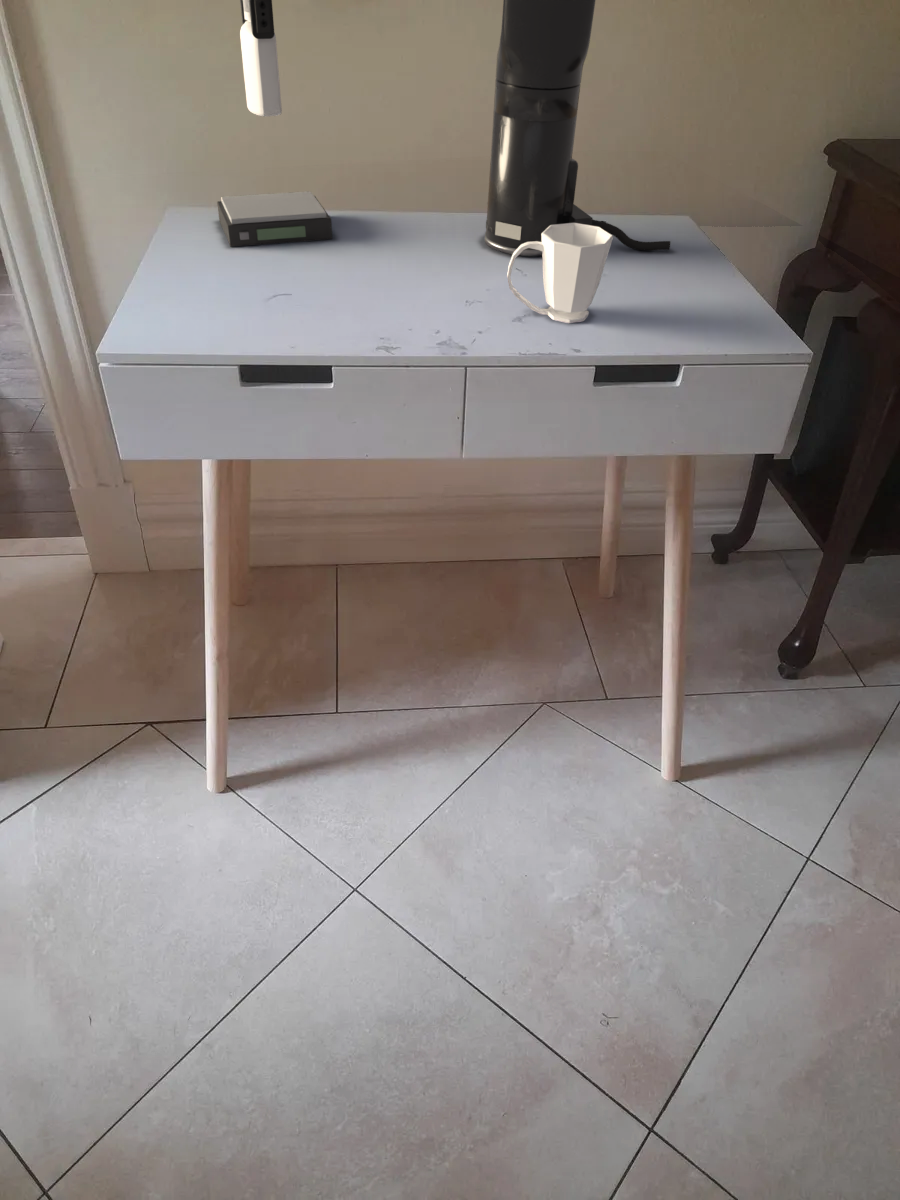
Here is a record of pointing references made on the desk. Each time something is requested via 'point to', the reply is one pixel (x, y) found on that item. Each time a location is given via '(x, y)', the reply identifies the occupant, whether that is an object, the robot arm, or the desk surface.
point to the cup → (568, 269)
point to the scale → (273, 218)
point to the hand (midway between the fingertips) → (258, 32)
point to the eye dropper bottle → (260, 70)
